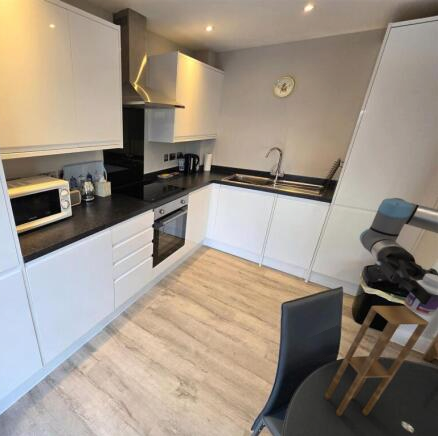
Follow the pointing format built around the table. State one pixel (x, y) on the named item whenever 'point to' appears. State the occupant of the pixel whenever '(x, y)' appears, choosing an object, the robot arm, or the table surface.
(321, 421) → the table surface
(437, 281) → the pill bottle
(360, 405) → the table surface
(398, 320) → the shelf
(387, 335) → the stand frame
